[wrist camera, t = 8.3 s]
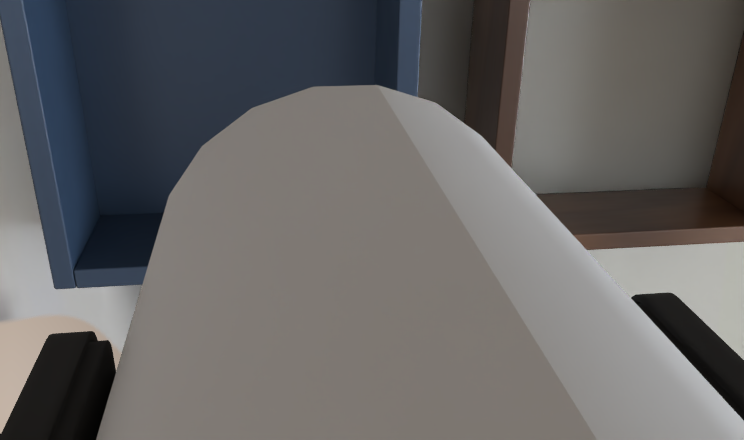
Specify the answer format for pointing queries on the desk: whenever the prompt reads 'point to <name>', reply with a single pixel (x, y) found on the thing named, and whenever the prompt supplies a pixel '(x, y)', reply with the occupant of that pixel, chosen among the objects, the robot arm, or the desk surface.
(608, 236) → the crate
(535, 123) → the desk surface
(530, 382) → the can
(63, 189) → the bin
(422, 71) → the desk surface
